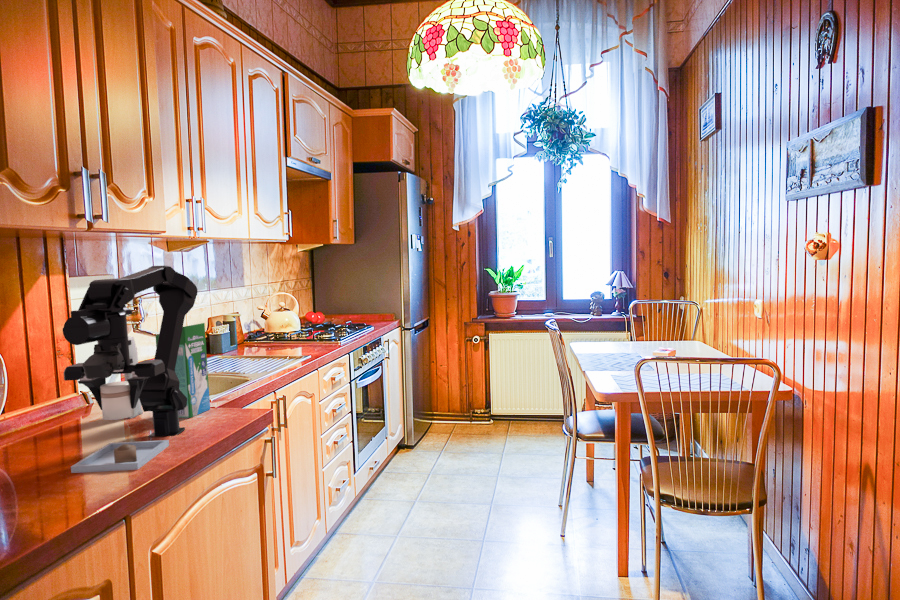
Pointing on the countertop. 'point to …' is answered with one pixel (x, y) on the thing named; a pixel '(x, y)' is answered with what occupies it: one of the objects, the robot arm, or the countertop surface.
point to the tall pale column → (129, 375)
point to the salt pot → (125, 454)
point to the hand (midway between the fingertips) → (118, 409)
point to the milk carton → (193, 370)
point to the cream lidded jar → (116, 400)
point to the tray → (106, 462)
